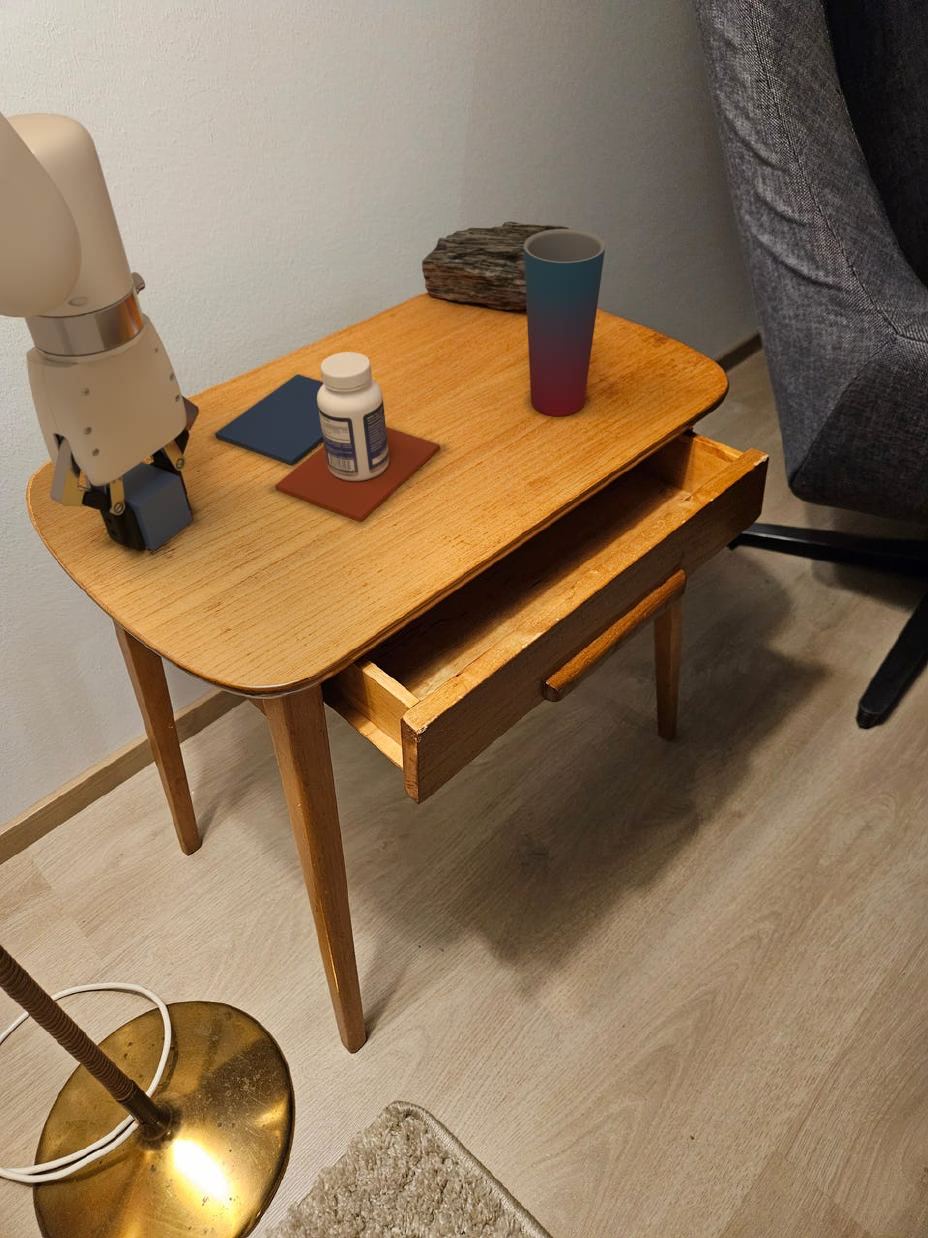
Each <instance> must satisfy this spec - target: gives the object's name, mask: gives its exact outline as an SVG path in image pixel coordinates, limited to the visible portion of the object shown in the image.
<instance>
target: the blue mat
mask: <svg viewBox="0 0 928 1238" xmlns="http://www.w3.org/2000/svg"><path fill="white" fill-rule="evenodd" d="M322 385H323V381H320V380H317V379H315V378H311V377H308V376H304V375H301V374H296V375H294V376H293V377H291V378H290V379H289V380H287V381H285V382H284V383H283V384H282V385H280V386H279V387H278V388H276V389H275V390H273V391H272V392H271V393H269V394H268V395H266V396H264V397H263V398H262V399H261V400H259V401H258V402H256V403H255V404H254V405H252V406H251V407H249V408H248V409H247V410H245V411H244V412H243V413H241V414H240V415H238V416H237V417H236V418H234V419H233V420H232V421H230V422H229V423H227V424H226V425H225V426H223V427H222V428H220V429H219V430H217V431H216V432H214V435H215V438H216V439H219V440H222V441H225V442H226V443H229V444H233V445H235V446H237V447H241V448H244V449H247V450H249V451H251V452H254V453H257V454H261V455H263V456H266V457H268V458H271V459H273V460H277V461H279V462H282V463H285V464H287V465H291V466H294V465H295V464H296V463H297V462H299V461H300V460H301V459H302V458H304V457H305V456H306V455H308V454H309V453H310V452H311V451H312V450H314V449H315V448H316V447H318V445H320V444H321V443H322V442H324V440H323V434H322V428H321V422H320V416H319V410H318V403H317V394H318V391H319V389H320V388H321V386H322Z"/></svg>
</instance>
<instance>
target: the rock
mask: <svg viewBox="0 0 928 1238" xmlns="http://www.w3.org/2000/svg"><path fill="white" fill-rule="evenodd" d="M554 229H570V228H569V227H568V226H566V225H555V224H554V225H553V224H533V223H527V224H525V223H521V222H515V221H505V222H504V223H503V224H502V225H501V226H493V227H469V228H466V229H464V230H456V231H455V232H453V233H452V234H448V235H447V236H446V237H439V238H438V240H437V243H436V246H435V247H434V249H433V250H431V252H430V253H428V254H427V255H426V256H425V258H423V260H422V262H421V267H422V268H421V269H422V273H423V278H424V280H425V281H424V288H425V289H426V291H427V294H428V295H429V297H436V298H439V299H446V300H448V301H456V302H457V303H459V304H460V303H466V304H467V303H472V304H482V305H486V306H487V307H488V308H490V309H493V310H494V309H495V310H500V311H507V310H520V311H521V310H527V305H526V284H525V263H524V243H525V241H526V240H527V239H528V238H529V237H531V236H532V235H534V234H537V233H540V232H543V231H548V230H554Z"/></svg>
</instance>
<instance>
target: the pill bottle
mask: <svg viewBox="0 0 928 1238" xmlns="http://www.w3.org/2000/svg"><path fill="white" fill-rule="evenodd" d="M372 372H373V371H372V366H371V360H370V359H369V358H368V356H367V355H365V354H363V353H360V352H354V351H343V352H338V353H335V354H332V355H330V356H328V357H326V358H325V359H323V361H322V362H321V364H320V373H321V379H322V382H323V385H322V386H321V388H320V389H319V391H318V394H317V403H318V410H319V416H320V422H321V428H322V434H323V440H324V441H323V446H324V447H325V453H326V459H327V465H328V468H329V470H330V472H331V473H332V474H333V475H334V476H336V477H338V478H340V479H343V480H346V481H363V480H367V479H371V478H373V477H376V476H378V475H379V474H381V473H382V472H383V471H384V470H385V469H386V468H387V466H388V463H389V450H388V441H387V432H386V427H387V424H386V414H385V403H384V396H383V391H382V388H381V386H380V385H379V383H378V382H377V381H376V380H374V379H373V378H372V377H373V376H372V375H373V374H372Z"/></svg>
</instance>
